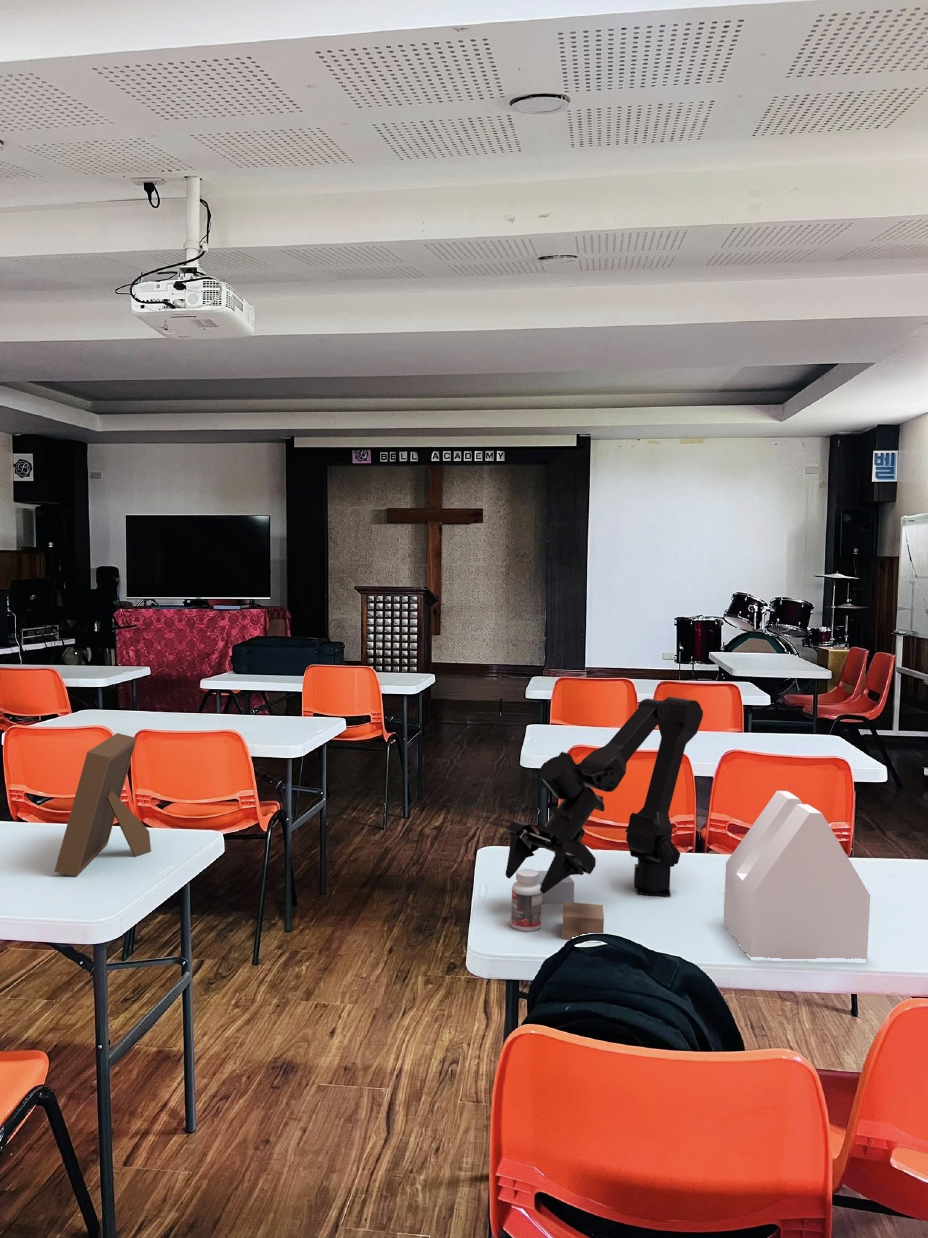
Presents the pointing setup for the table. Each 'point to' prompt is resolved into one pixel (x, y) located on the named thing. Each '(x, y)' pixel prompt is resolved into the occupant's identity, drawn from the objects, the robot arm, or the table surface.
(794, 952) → the pinkish house shaped block
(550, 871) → the robot arm
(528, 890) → the pill bottle
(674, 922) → the table surface
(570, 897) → the grey block
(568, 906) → the walnut block
